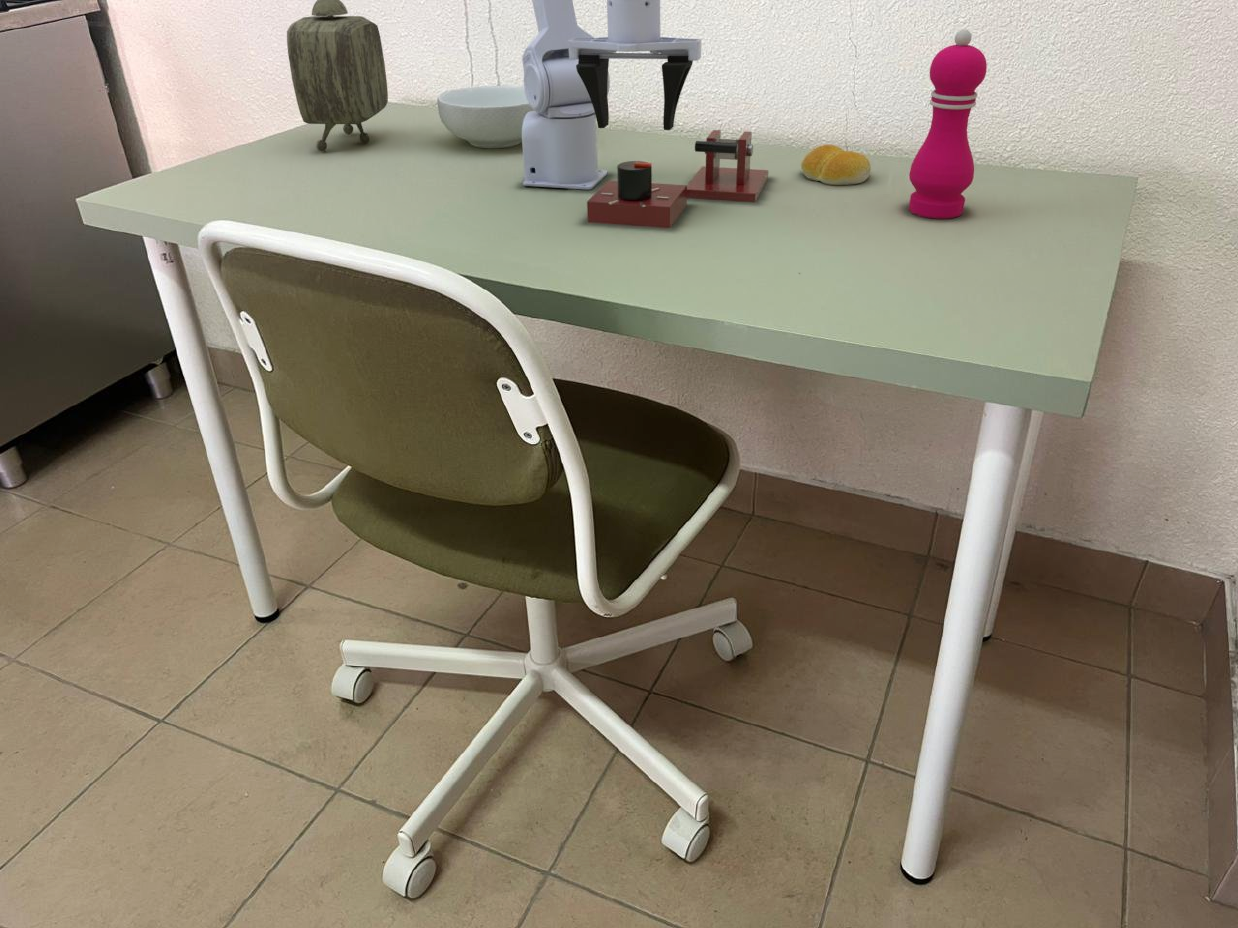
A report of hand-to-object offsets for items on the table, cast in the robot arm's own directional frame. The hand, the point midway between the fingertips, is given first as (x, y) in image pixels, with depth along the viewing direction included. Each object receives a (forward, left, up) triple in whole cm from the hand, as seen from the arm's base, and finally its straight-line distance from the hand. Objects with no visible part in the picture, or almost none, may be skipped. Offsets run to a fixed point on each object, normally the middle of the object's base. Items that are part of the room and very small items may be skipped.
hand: (635, 127), depth 109 cm
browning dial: (0, 0, -8) cm, 8 cm away
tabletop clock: (-53, +26, -11) cm, 60 cm away
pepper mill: (+34, +10, -11) cm, 37 cm away
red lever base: (+8, +14, -11) cm, 20 cm away
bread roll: (+21, +22, -11) cm, 33 cm away
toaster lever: (+8, +10, -6) cm, 14 cm away
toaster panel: (0, +1, -11) cm, 11 cm away
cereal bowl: (-31, +31, -11) cm, 45 cm away
